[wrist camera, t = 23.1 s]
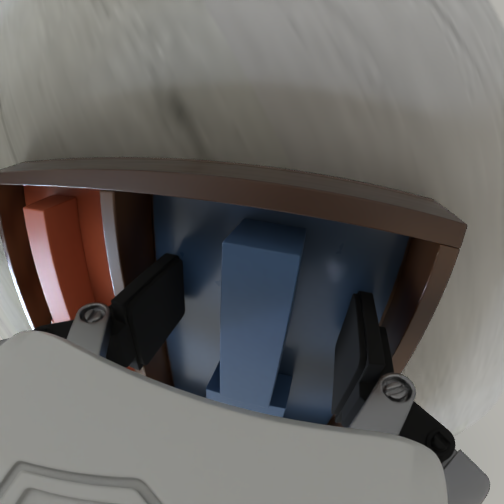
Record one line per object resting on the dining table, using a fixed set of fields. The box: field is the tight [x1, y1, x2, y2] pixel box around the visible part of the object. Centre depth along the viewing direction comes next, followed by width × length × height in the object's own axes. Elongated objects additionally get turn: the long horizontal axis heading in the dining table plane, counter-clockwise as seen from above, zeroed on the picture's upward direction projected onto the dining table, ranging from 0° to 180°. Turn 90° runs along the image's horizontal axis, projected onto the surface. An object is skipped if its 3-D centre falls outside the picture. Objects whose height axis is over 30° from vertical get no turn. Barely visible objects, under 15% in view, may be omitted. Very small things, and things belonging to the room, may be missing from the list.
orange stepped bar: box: [23, 195, 95, 324], centre depth 14 cm, size 13×4×2 cm, turn 175°
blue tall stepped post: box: [206, 219, 306, 418], centre depth 12 cm, size 13×4×2 cm, turn 175°
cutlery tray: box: [0, 157, 467, 427], centre depth 13 cm, size 17×24×3 cm
